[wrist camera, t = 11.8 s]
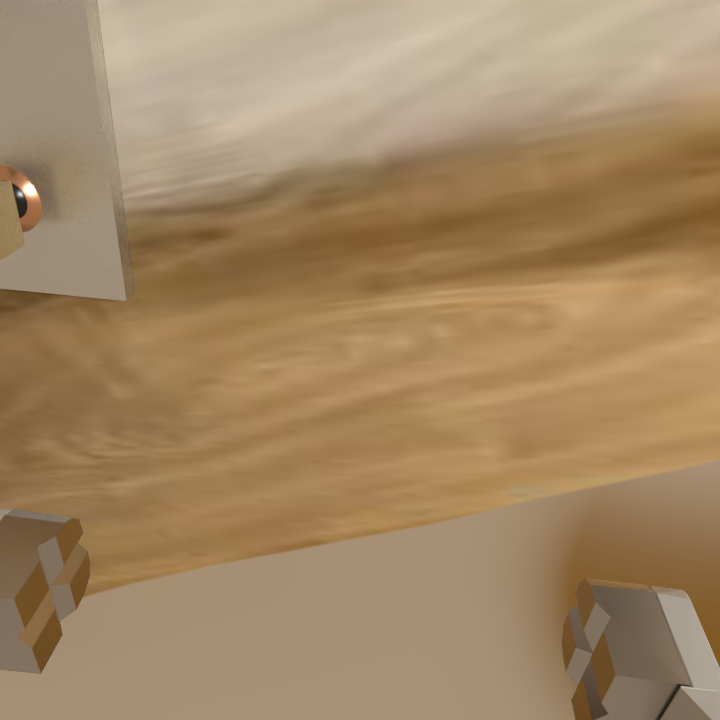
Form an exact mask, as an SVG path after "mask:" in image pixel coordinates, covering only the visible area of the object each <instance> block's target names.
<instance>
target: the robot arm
mask: <svg viewBox="0 0 720 720" xmlns="http://www.w3.org/2000/svg"><path fill="white" fill-rule="evenodd" d="M82 535H83V530H82V527H81V524H80V520H79V519H76V518H71V517H64V516H58V515H51V514H44V513H37V512H31V511H24V510H17V509H9V508H1V507H0V670H8V671H19V672H28V673H38V674H41V673H42V671H43V669H44V667H45V666H46V663H47V662H48V660H49V658H50V656H51V655H52V653H53V651H54V649H55V647H56V646H57V644H58V642H59V640H60V638H61V637H62V629H61V624H60V621H61V620H62V619H64V618H65V617H67V616H68V615H69V614H71V613H72V612H74V611H75V610H76V609H77V607H78V606H79V604H80V602H81V600H82V598H83V596H84V594H85V591H86V587H87V584H88V580H89V577H90V559H89V555H88V552H87V551H86V550H85V549H84V548H83V547H82V546H81V545H80V544H79V543H78V541H79V540H80V538H81V536H82ZM575 594H576V599H577V603H578V606H576V607H574V608H573V609H571V610H569V611H568V613H567V616H566V619H565V621H564V624H563V635H562V650H563V651H562V652H563V660H564V665H565V671H566V673H567V674H568V675H569V676H570V677H571V679H572V680H573V681H574V682H575V684H576V685H577V689H576V691H575V693H574V696H573V698H572V700H571V701H572V706H573V711H574V715H575V720H720V668H719V666H718V664H717V661H716V659H715V656H714V654H713V652H712V649H711V647H710V645H709V642H708V640H707V638H706V635H705V633H704V631H703V628H702V626H701V624H700V621H699V619H698V617H697V614H696V612H695V610H694V607H693V605H692V603H691V600H690V598H689V596H688V595H687V594H686V593H685V592H684V591H683V590H678V589H669V588H661V587H653V586H646V585H640V584H631V583H621V582H613V581H603V580H594V579H584V580H582V581H581V582H580V583H579V585H578V588H577V590H576V593H575Z"/></svg>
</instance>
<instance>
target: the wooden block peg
mask: <svg viewBox="0 0 720 720" xmlns="http://www.w3.org/2000/svg"><path fill="white" fill-rule="evenodd" d="M17 208H18V202H17V199H16V198H15V196H14V192H13V187H12V183H11V181H3V180H0V261H1V260H2V259H4V258H5V257H7V256H8V255H10V254H11V253H13V252H15V251H16V250H18V249H19V248H21V247H22V246H24V245H25V241H24V237H23V232H22V228H21V223H20V219H19V214H18V210H17Z"/></svg>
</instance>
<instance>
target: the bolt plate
mask: <svg viewBox="0 0 720 720" xmlns="http://www.w3.org/2000/svg"><path fill="white" fill-rule="evenodd" d="M0 180H3V181H11V183H12V187H13V192H14V196H15V198H16V199H17V202H18V208H17V210H18V214H19V219H20V223H21V228H22V232H23V237H24V241H25V245H24V246H22V247H21V248H19V249H18V250H16V251H15V252H13V253H11V254H10V255H8V256H7V257H5V258H4V259H2V260H1V261H0V289H11V290H21V291H31V292H41V293H51V294H61V295H71V296H81V297H91V298H101V299H111V300H121V301H127V300H128V299H129V298H130V297H131V296H132V295H133V294H134V293H135V288H134V280H133V272H132V265H131V257H130V250H129V242H128V235H127V227H126V219H125V212H124V204H123V197H122V189H121V181H120V174H119V166H118V159H117V151H116V143H115V136H114V128H113V121H112V113H111V105H110V98H109V90H108V83H107V75H106V67H105V60H104V52H103V45H102V37H101V29H100V22H99V14H98V7H97V0H0Z"/></svg>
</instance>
